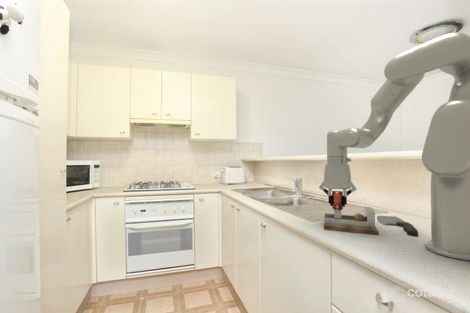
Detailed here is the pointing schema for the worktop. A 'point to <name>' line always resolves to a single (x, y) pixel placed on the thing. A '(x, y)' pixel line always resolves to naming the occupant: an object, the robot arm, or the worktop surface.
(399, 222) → the cleaver
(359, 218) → the walnut
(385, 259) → the worktop surface
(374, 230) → the press base
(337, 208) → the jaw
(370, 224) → the press frame
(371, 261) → the worktop surface
